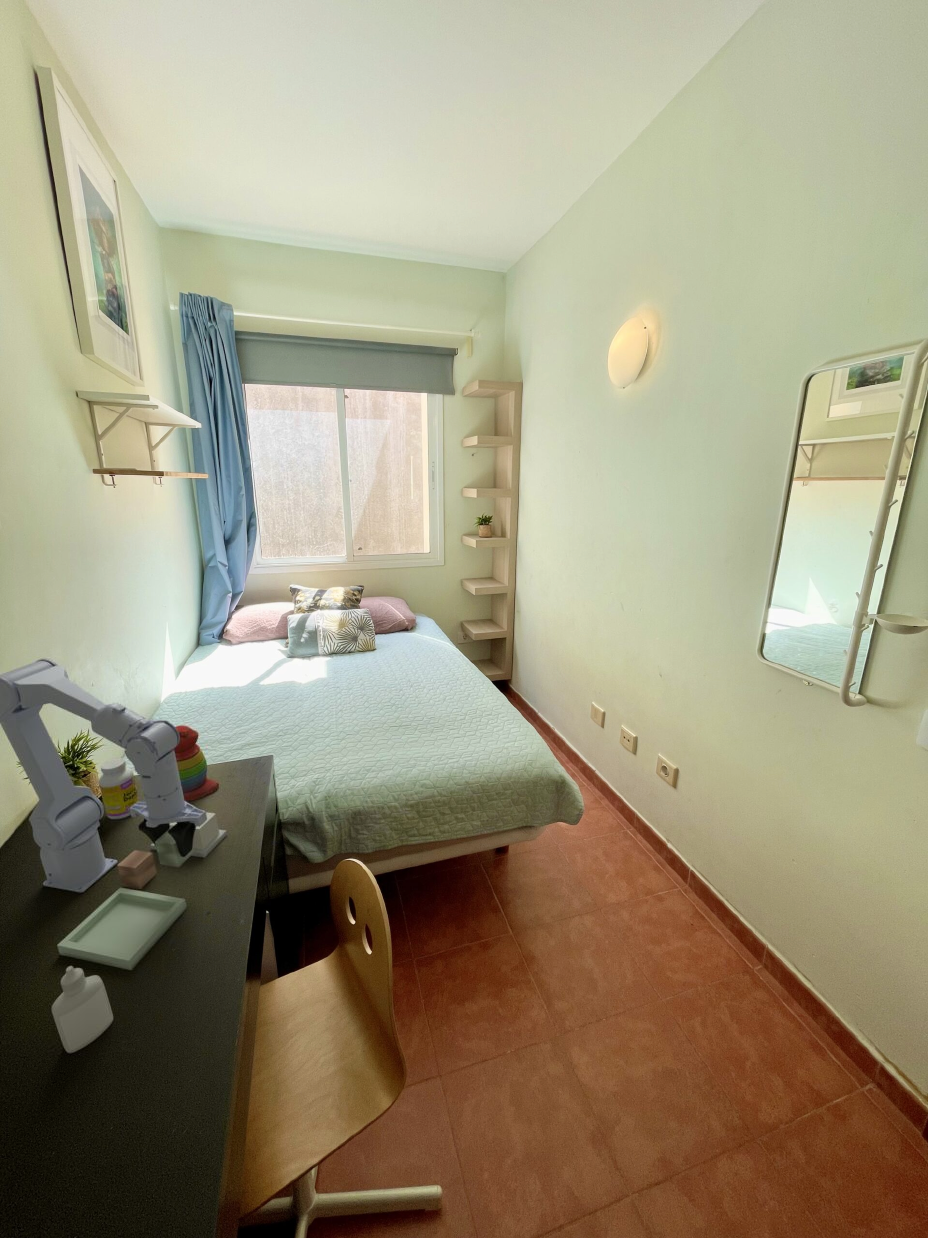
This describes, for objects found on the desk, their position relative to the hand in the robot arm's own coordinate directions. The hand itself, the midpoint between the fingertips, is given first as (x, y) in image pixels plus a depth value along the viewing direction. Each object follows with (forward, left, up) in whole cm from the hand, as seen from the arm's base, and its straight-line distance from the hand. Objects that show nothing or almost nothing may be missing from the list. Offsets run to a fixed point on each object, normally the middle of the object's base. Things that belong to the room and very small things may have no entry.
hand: (176, 851), depth 92 cm
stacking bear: (-21, +27, -8) cm, 35 cm away
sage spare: (0, 0, -1) cm, 1 cm away
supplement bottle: (-31, +17, -8) cm, 36 cm away
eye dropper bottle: (+6, -25, -8) cm, 27 cm away
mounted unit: (-8, +11, -8) cm, 16 cm away
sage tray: (-3, -10, -8) cm, 13 cm away
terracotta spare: (-10, 0, -8) cm, 13 cm away
